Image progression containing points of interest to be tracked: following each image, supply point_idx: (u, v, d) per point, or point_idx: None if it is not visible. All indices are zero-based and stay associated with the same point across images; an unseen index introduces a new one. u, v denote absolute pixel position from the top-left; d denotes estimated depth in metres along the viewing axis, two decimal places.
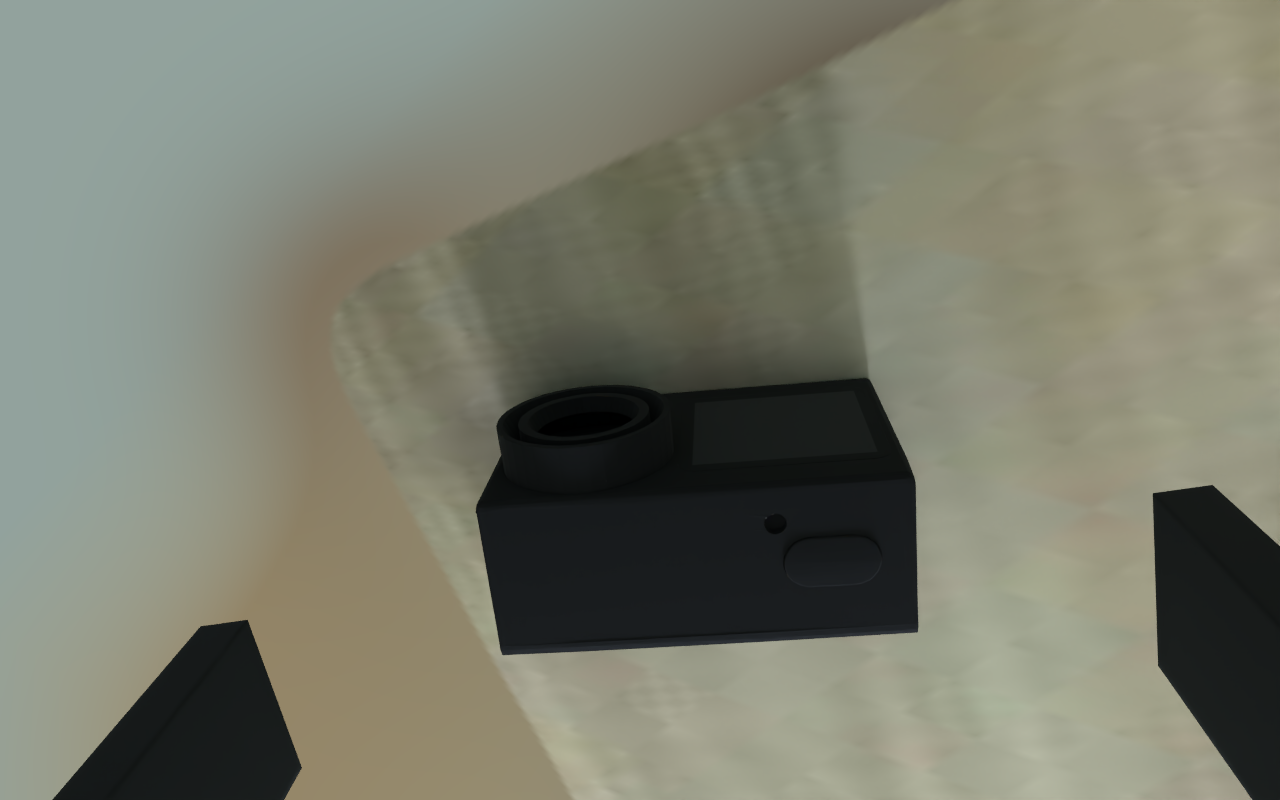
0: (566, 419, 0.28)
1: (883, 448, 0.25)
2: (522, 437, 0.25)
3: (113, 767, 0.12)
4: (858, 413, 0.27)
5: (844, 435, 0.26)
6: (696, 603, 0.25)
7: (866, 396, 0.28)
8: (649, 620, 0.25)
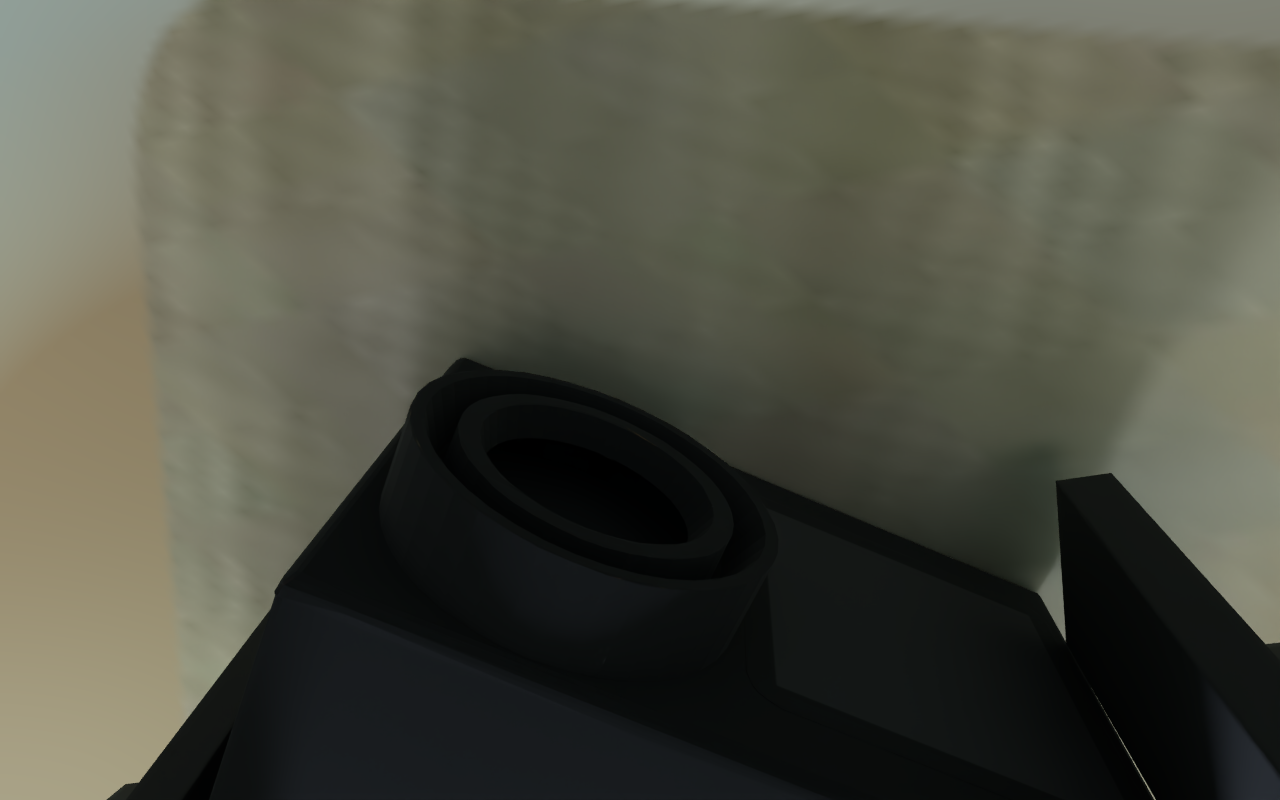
0: None
1: None
2: (457, 460, 0.11)
3: (221, 717, 0.13)
4: (1058, 684, 0.14)
5: (1054, 738, 0.13)
6: None
7: (1055, 642, 0.15)
8: None
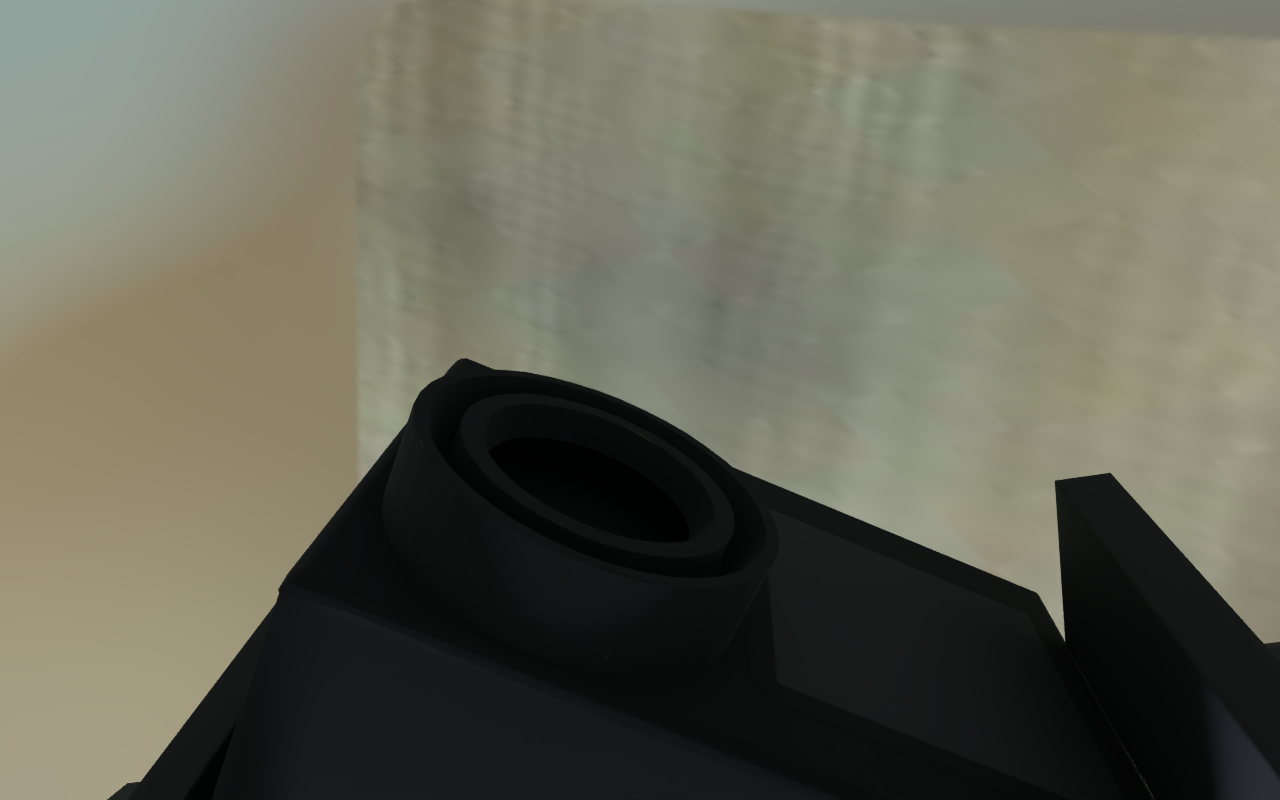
0: None
1: None
2: (460, 459, 0.11)
3: (223, 716, 0.13)
4: (1057, 682, 0.14)
5: (1054, 736, 0.13)
6: None
7: (1054, 641, 0.15)
8: None
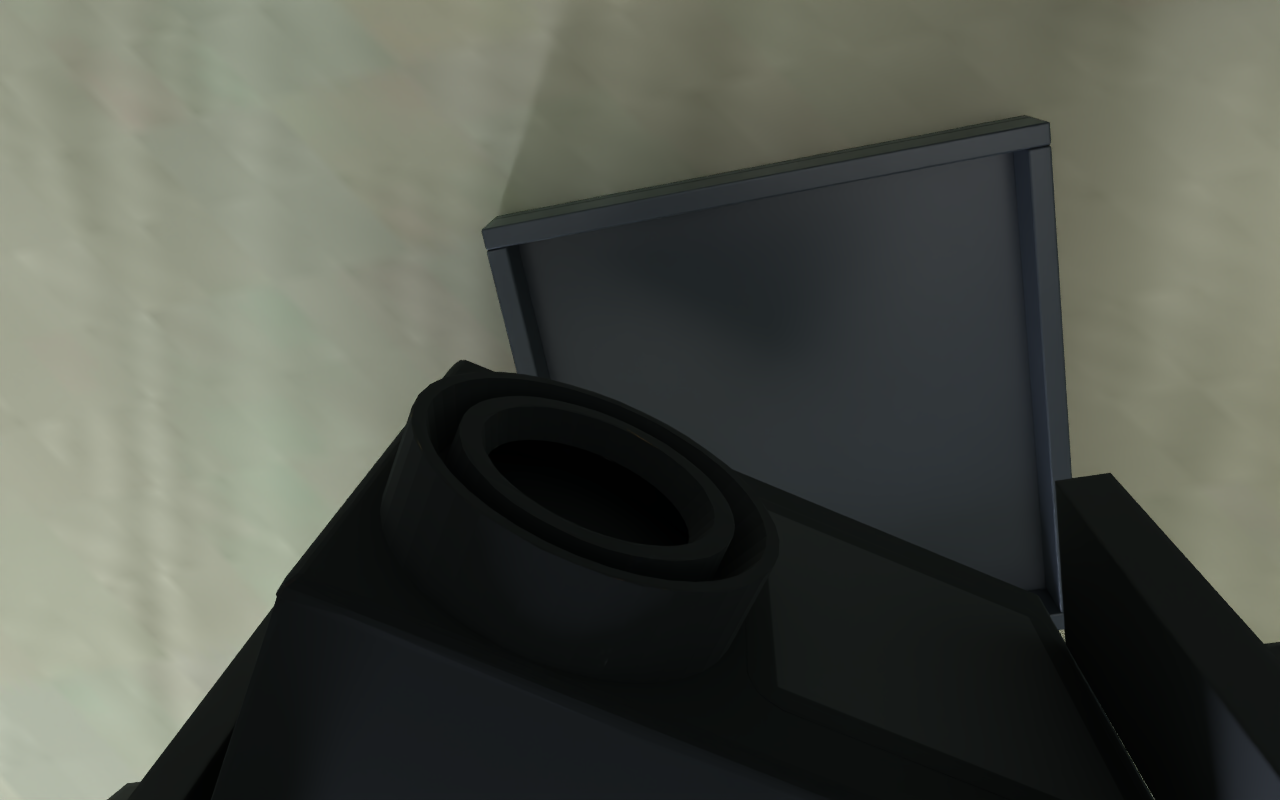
0: None
1: None
2: (458, 462, 0.11)
3: (222, 716, 0.13)
4: (1058, 685, 0.14)
5: (1055, 740, 0.13)
6: None
7: (1055, 643, 0.15)
8: None
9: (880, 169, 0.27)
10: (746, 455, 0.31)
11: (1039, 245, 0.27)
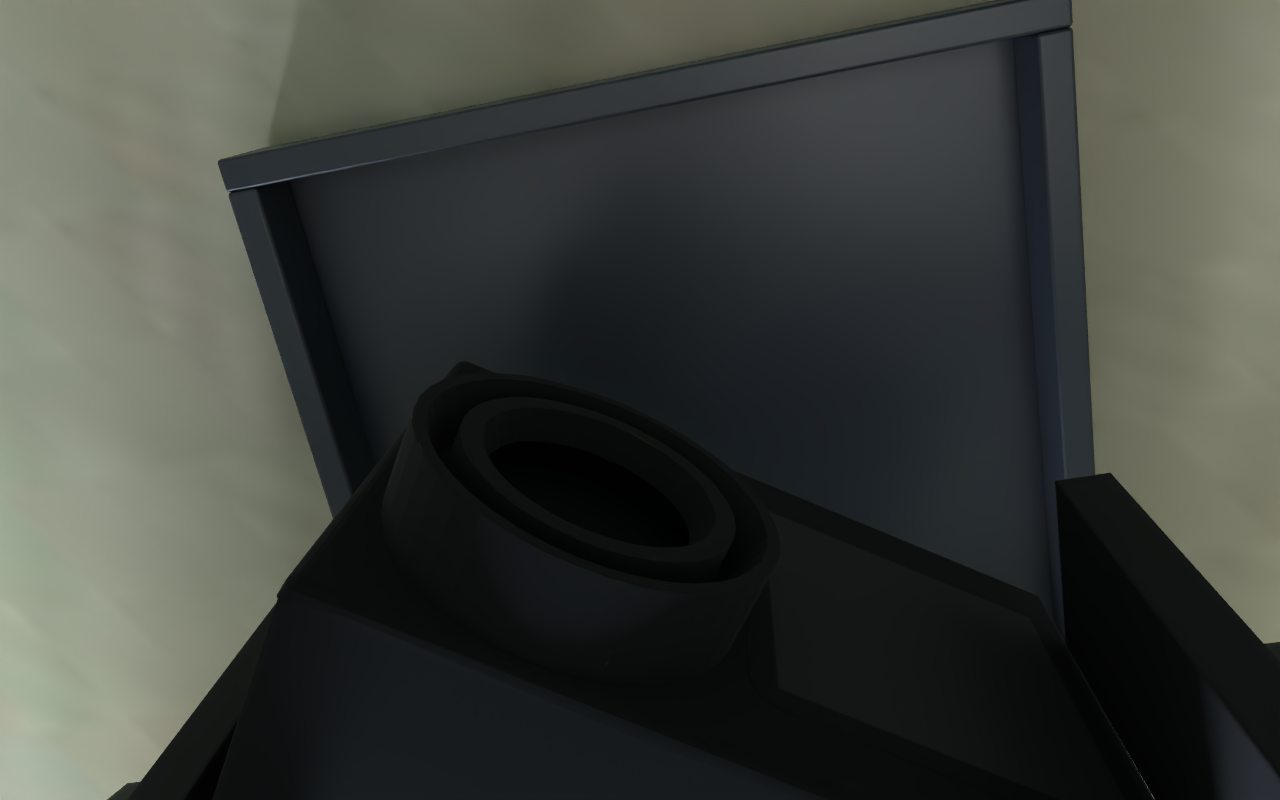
0: None
1: None
2: (459, 463, 0.11)
3: (223, 716, 0.13)
4: (1059, 686, 0.14)
5: (1057, 741, 0.13)
6: None
7: (1056, 644, 0.15)
8: None
9: (809, 66, 0.17)
10: None
11: (1053, 185, 0.18)
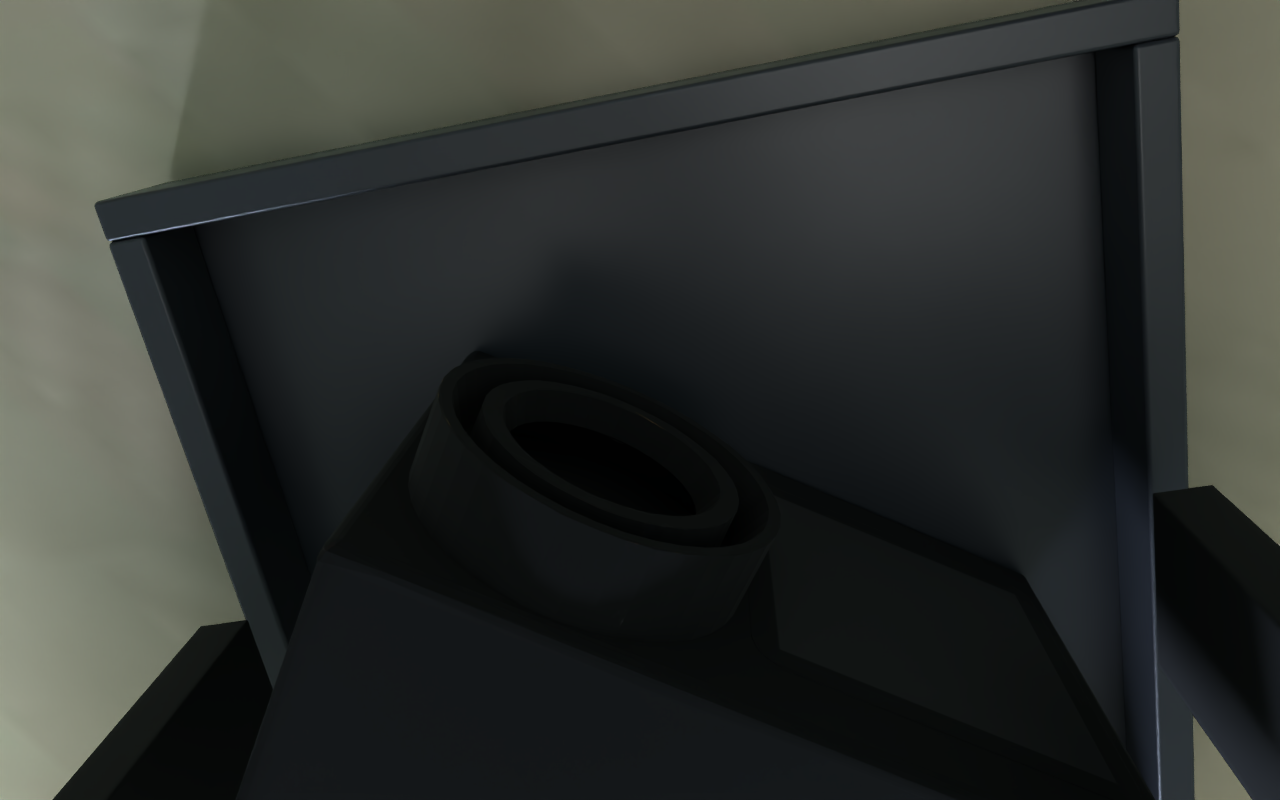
0: None
1: (1123, 779, 0.12)
2: (482, 439, 0.12)
3: (114, 767, 0.12)
4: (1042, 655, 0.15)
5: (1039, 704, 0.13)
6: None
7: (1040, 619, 0.16)
8: None
9: (840, 86, 0.14)
10: None
11: (1148, 236, 0.14)
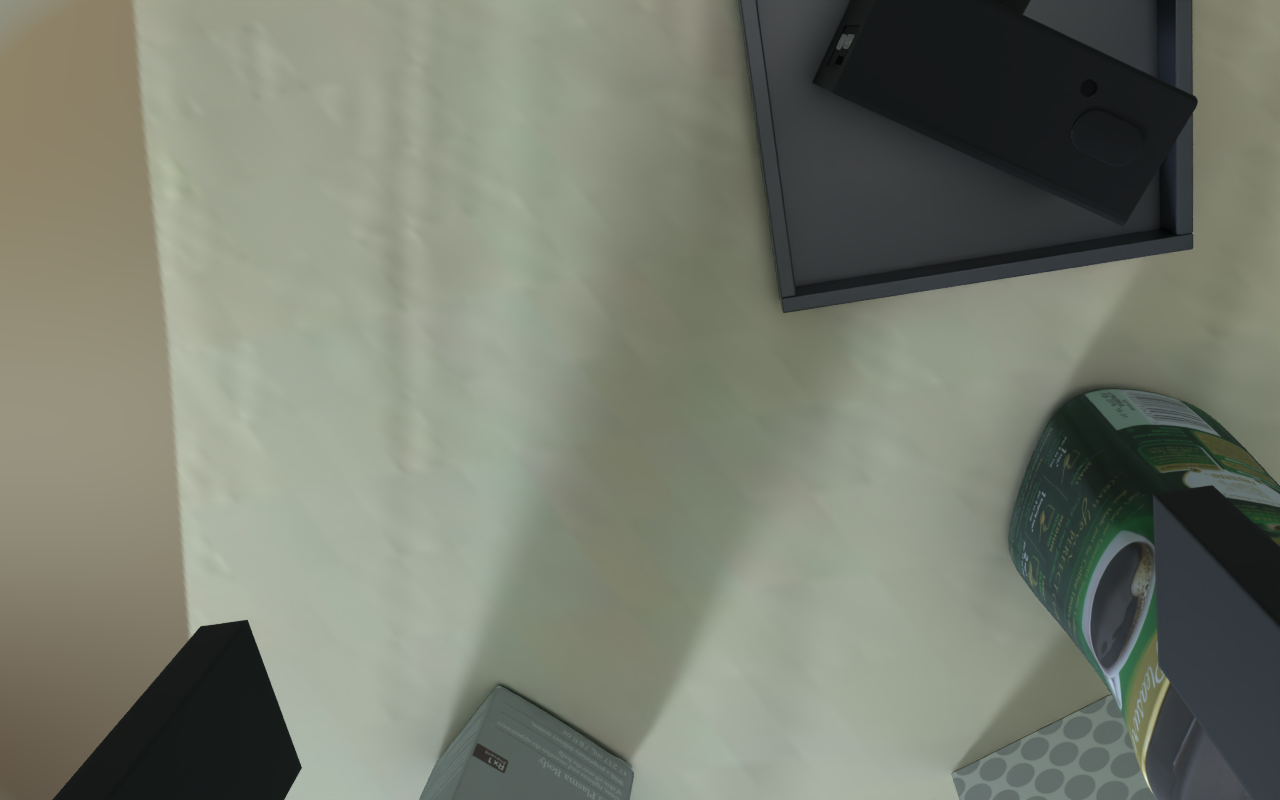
0: None
1: None
2: None
3: (113, 767, 0.12)
4: None
5: None
6: (996, 122, 0.32)
7: None
8: (955, 119, 0.32)
9: None
10: None
11: None
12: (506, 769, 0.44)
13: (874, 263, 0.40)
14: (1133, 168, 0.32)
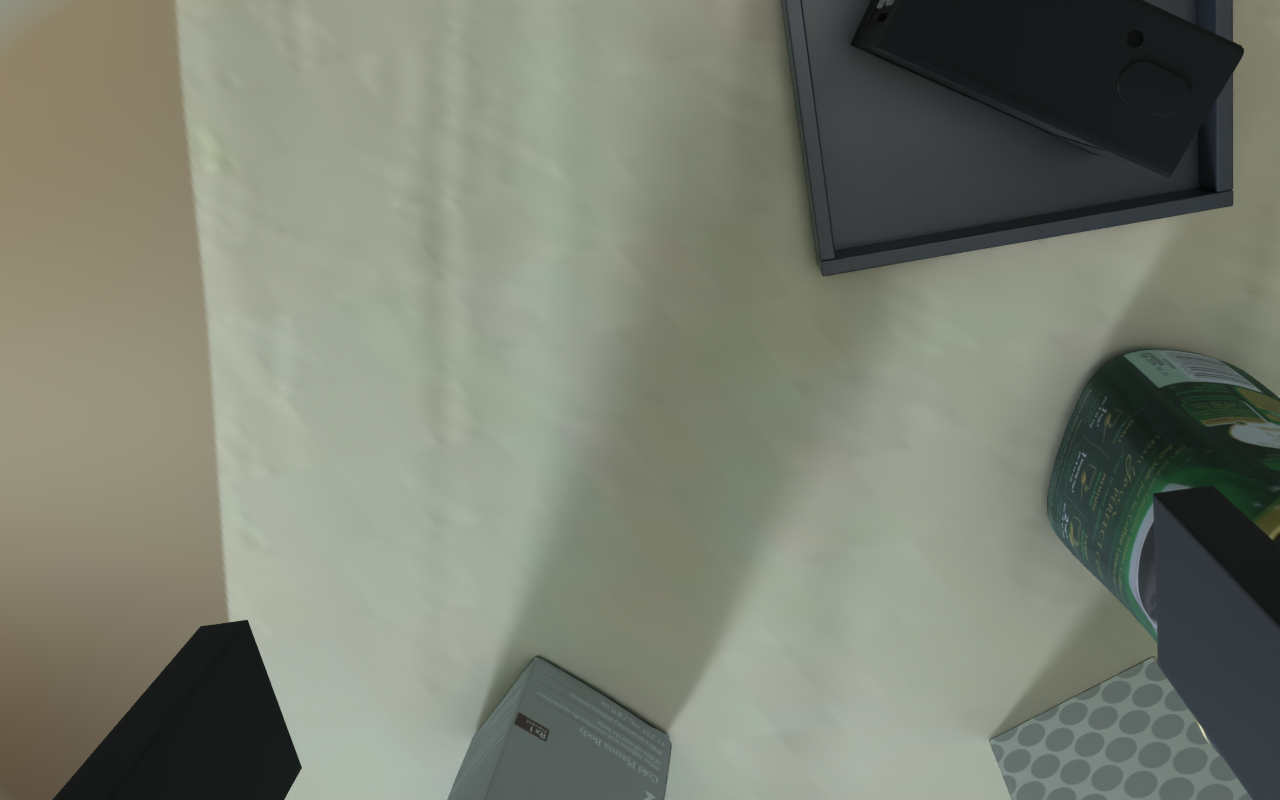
0: None
1: None
2: None
3: (113, 767, 0.12)
4: None
5: None
6: (1042, 75, 0.32)
7: None
8: (1001, 72, 0.32)
9: None
10: None
11: None
12: (547, 738, 0.45)
13: (912, 225, 0.40)
14: (1179, 119, 0.32)
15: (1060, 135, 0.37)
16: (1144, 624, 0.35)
